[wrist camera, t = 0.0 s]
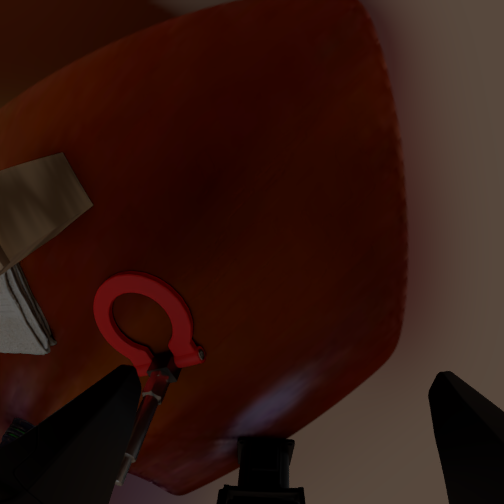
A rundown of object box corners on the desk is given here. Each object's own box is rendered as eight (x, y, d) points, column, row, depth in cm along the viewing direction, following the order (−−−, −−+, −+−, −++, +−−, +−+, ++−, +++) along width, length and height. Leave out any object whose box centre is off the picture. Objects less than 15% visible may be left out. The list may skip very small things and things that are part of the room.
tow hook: (82, 286, 26) (137, 371, 29) (-15, 384, 13) (81, 483, 16) (162, 252, 24) (217, 352, 27) (62, 371, 11) (181, 492, 14)
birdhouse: (96, 206, 22) (3, 267, 12) (36, 256, 24) (-40, 317, 14) (63, 148, 20) (-42, 181, 10) (8, 207, 22) (-75, 254, 13)
